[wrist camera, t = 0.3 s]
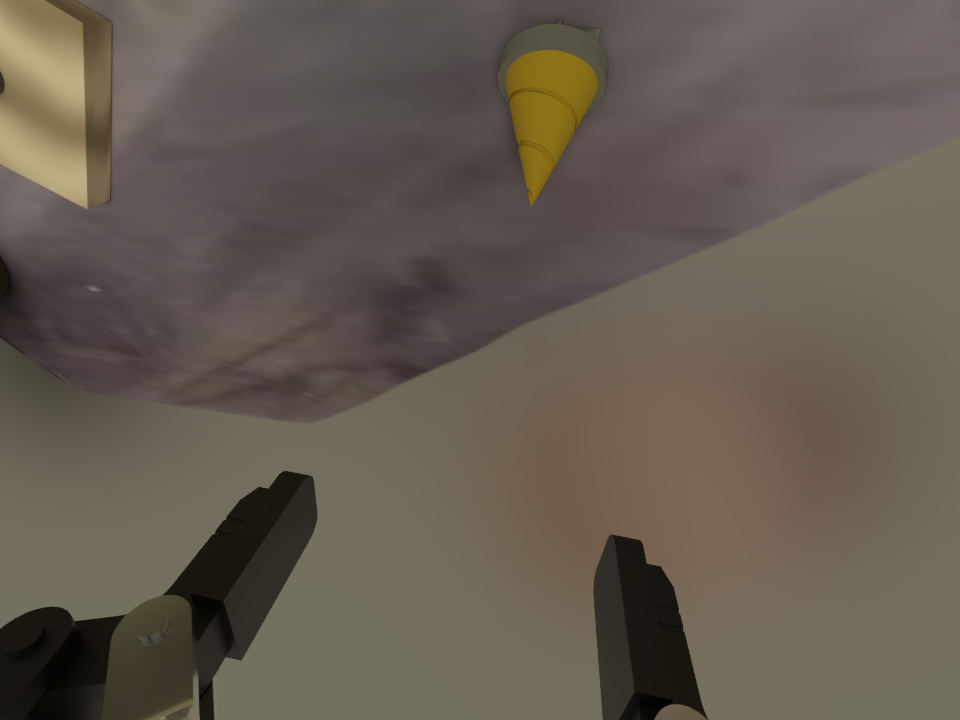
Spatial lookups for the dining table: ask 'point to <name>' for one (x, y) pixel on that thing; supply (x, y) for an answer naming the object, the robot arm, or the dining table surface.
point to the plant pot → (3, 278)
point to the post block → (56, 97)
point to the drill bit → (550, 92)
